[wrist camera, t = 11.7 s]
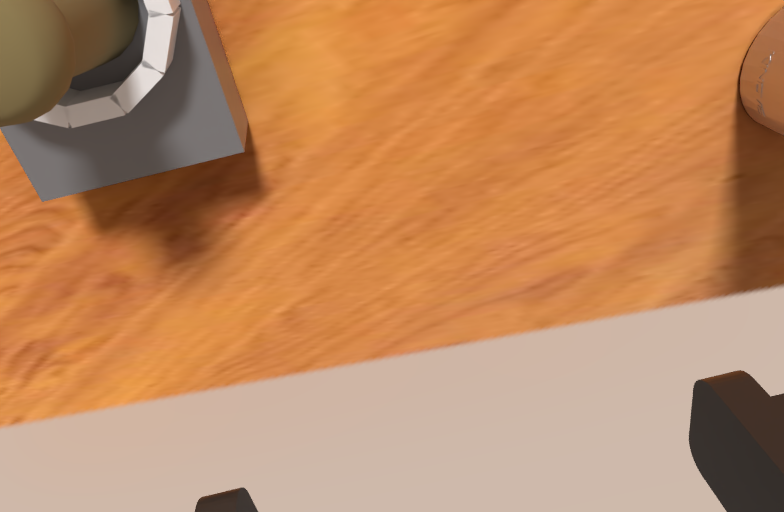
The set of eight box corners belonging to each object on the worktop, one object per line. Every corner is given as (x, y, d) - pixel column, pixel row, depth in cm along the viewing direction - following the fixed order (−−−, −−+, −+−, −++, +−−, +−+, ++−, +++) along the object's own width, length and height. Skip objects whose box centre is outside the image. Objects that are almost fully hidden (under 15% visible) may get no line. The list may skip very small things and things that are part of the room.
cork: (74, 92, 30) (-18, 187, 20) (-38, -17, 27) (-207, 36, 17) (167, 16, 29) (114, 79, 19) (61, -107, 26) (-62, -103, 16)
